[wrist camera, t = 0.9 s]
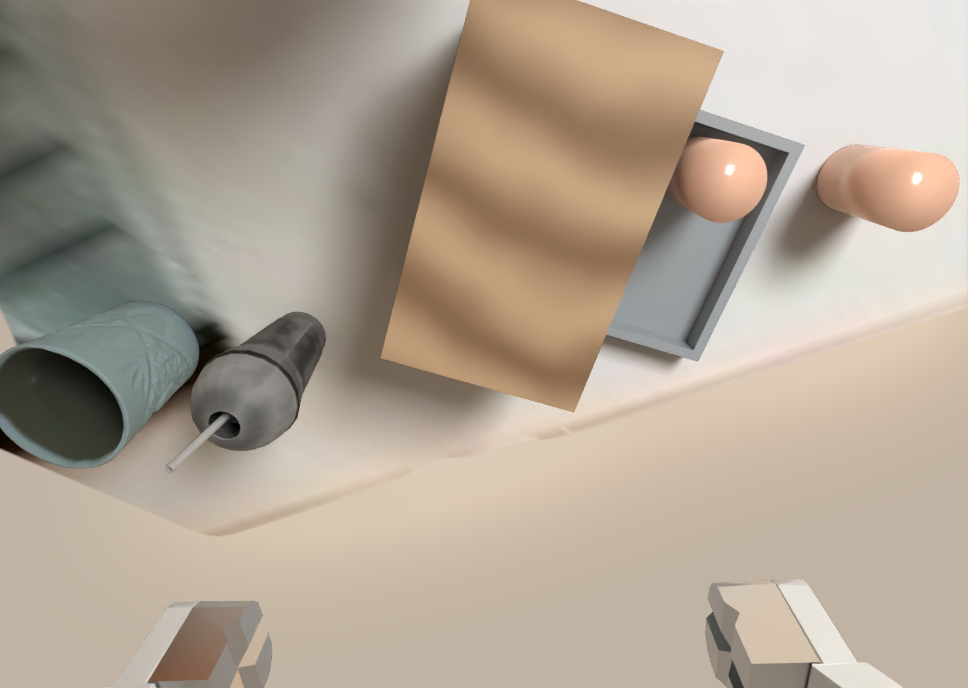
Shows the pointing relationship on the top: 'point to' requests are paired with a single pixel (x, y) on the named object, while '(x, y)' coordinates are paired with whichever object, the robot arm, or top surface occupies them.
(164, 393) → the teal cup
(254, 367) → the beverage cup
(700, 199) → the peach glossy rounded part
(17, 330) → the top surface
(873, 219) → the peach rounded capsule
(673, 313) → the tray
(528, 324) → the open wooden box
